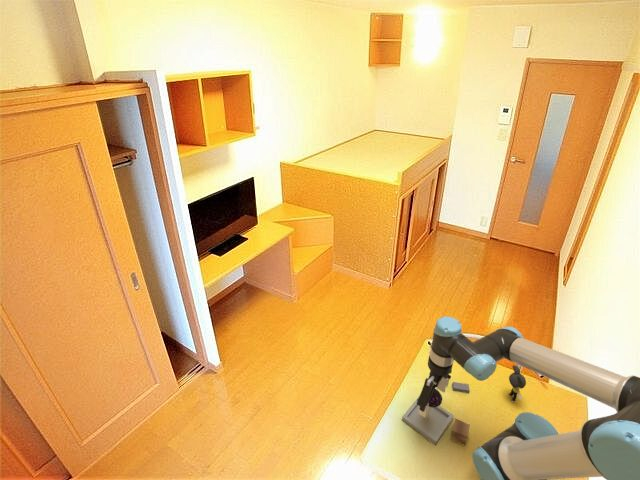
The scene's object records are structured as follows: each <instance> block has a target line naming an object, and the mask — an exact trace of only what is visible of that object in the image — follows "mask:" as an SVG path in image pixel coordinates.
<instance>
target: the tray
mask: <svg viewBox="0 0 640 480" xmlns="http://www.w3.org/2000/svg"><path fill="white" fill-rule="evenodd" d="M419 396H420V394H419V395H418V397H417V398H416V399H415V400H414V401H413V402H412V404H411V405H410V407H409V408H408V409H407V410H406V411H405V413H403V415H402V416H401V421H402V422H403V423H405V424H406V425H408V426H409V427H410V428H412V430H414V431H416V432H417V433H418V434H419V435H421V436H422V437H423V438H425V439H426V440H428V442H430V443H432V444H433V445H434V446H436V445H437V443H438V442H439V440H440V439H441V438H442V436H443V435H444V433H445V431H447V429H448V427H449V426H450V424H451V423H452V422H453V420H454V419H455V418H454V417H455V415H454V414H453V413H451V412H450V411H448V410H446V409H445V408H444V407H442V406H441V405H439V406H438V407H434V408H433V407H431V409H430V414H429V418H428V419H427V414H428V410H427V414H426V417H423V416H422V415H420V414H419V413H418V409H419V405H417V399H419ZM428 409H429V406H428Z"/></svg>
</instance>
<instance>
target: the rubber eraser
mask: <svg viewBox="0 0 640 480" xmlns="http://www.w3.org/2000/svg"><path fill="white" fill-rule="evenodd" d="M451 385H452V386H451V388H452V391H453V392H457V393H464V394H470V392H471V391H470V385H469V384H467V383H463V382H456V381H452V383H451Z"/></svg>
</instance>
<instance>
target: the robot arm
mask: <svg viewBox="0 0 640 480" xmlns="http://www.w3.org/2000/svg"><path fill="white" fill-rule="evenodd" d="M462 332H463V330H462V324H461V322H460V321H459V320H458V319H457V318H456V317H455V318H454V317H452V316H447V315H446V316H442V317H439V318H438V319H437V320H436V322H435V325H434V328H433V334H432V341H431V344H430V345H429V347H430V349H429V350H430V351H429V356H428V360H427V367H428V369H429V374H428V375H429V376H428V377H426V378H425V379H424V384H423V387H422V389H421V392H420V394H419V395H420V396H419V395H418V397H419V399H417V398H416V399H417V405H419V409H418V413H419V414H420V415H422V416H423V417H426V414H427V410H428V405H429V404H428V402H429V400H430V398H431V395H432V393H433V391H434V389H437V390H438V391H441V392H442V393H445V391H446V388H447V386H446V384H447V380H448V379H449V380H451V378H452V376H451V374H452V372H453V371H452V370H453V366H454V365H453V364H454V363H455V362H456V363H457V365H459V366H460V367H462V369H463V370H464V371H465V372H466V373H468V374H469V375H471V376H472V377H474V379H475V380H477V381H481V382H484V381H486V380H488V379H489V378H490V377H491V376H492V375H493V374H494V373H495V371H496V369H497V366H498V365H497V362H499V361H501V360H503V359H505V360H508V361H510V362H513V363H515V364H516V365H518V366H521V367H524V368H525V369H528V370H530V371H532V372H534V373H536V374H538V375H540V376H543V377H545V378H547V379H549V380H551V381H554V382H556V383H558V384H560V385H563V386H565V387H566V388H569V389H571V390H573V391H576V392H577V393H580V394H582V395H583V396H586V397H588V398H591V399H593V400H595V401H597V402H599V403H601V404H603V405H606V406H608V407H609V408H613V409H614V410H615V411H616V413H614V414H610V415H606V416H603V417H602V416H601V417H598V418H592V419H588V420H586V421H585V422H584V423H583V424H582V426H581V428H580V429H579V430H575V431H570V432H569V431H568V432H563V433H559V432H558V430H557V429H556V428H555V426H554V425H553V424H552V423H551V422H550V421H548V420H547V418H544V417H543V416H541V415H539V414H535V413H533V412H529V411H524V412H521V413H519V414H518V415H517V416H516V418H515V419H514V423H513V424H512V425H510V426H509V427H507V428H506V429H505V430H503V431H501V432H500V433H498V434H496V435H495V436H494V437H492V438H491V439H489V440H488V441H486V442H485V443H483V444H482V445H479V446H478V447H477V448H476V449H475V450H473V452H472V454H471V455H472V456H471V457H472V463H473V467H474V469H475V471H476V472H477V474H478V476H479V478H480V479H481V480H558V479H559V480H560V479H561V480H562V479H578V478H582V479H583V478H599V477H603V478H604V479H605V480H640V377H639V376H636V375H629V376H623V375H621V374H618V373H615V372H613V371H610V370H608V369H605V368H603V367H600V366H597V365H595V364H593V363H592V364H591V363H590V362H587V361H584V360H581V359H579V358H576V357H574V356H571V355H568V354H565V353H563V352H560V351H559V350H555V349H553V348H550V347H547V346H544V345H542V344H539V343H537V342H534V341H532V340H529V339H526V338H524V336H523V334H522V333H521V332H520V331H519V330H518V329H517V328H515V327H513V326H504V327H502V328H501V327H500V328H498V329H496V330H494V331H492V332H491V333H489V334H486V335H484V336H483V337H481V338H478V339H477V340H474V341H472V340H470V338H468V337H466V335H465V334H463V333H462ZM447 378H448V379H447ZM434 382H435V383H436V384H435V383H434Z"/></svg>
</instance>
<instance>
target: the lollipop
mask: <svg viewBox="0 0 640 480" xmlns="http://www.w3.org/2000/svg"><path fill="white" fill-rule="evenodd" d="M442 403H443V395H442V394H441V392H440V390H439V389H437V388H435V389H434V391H433V393H432V395H431V398H430V400H429V402H428V404H429V405H428V406H429V409H428V414H427V419H428V418H429V414H430V409H431V407H433V408H434V407H438V406H441V405H442Z"/></svg>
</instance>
